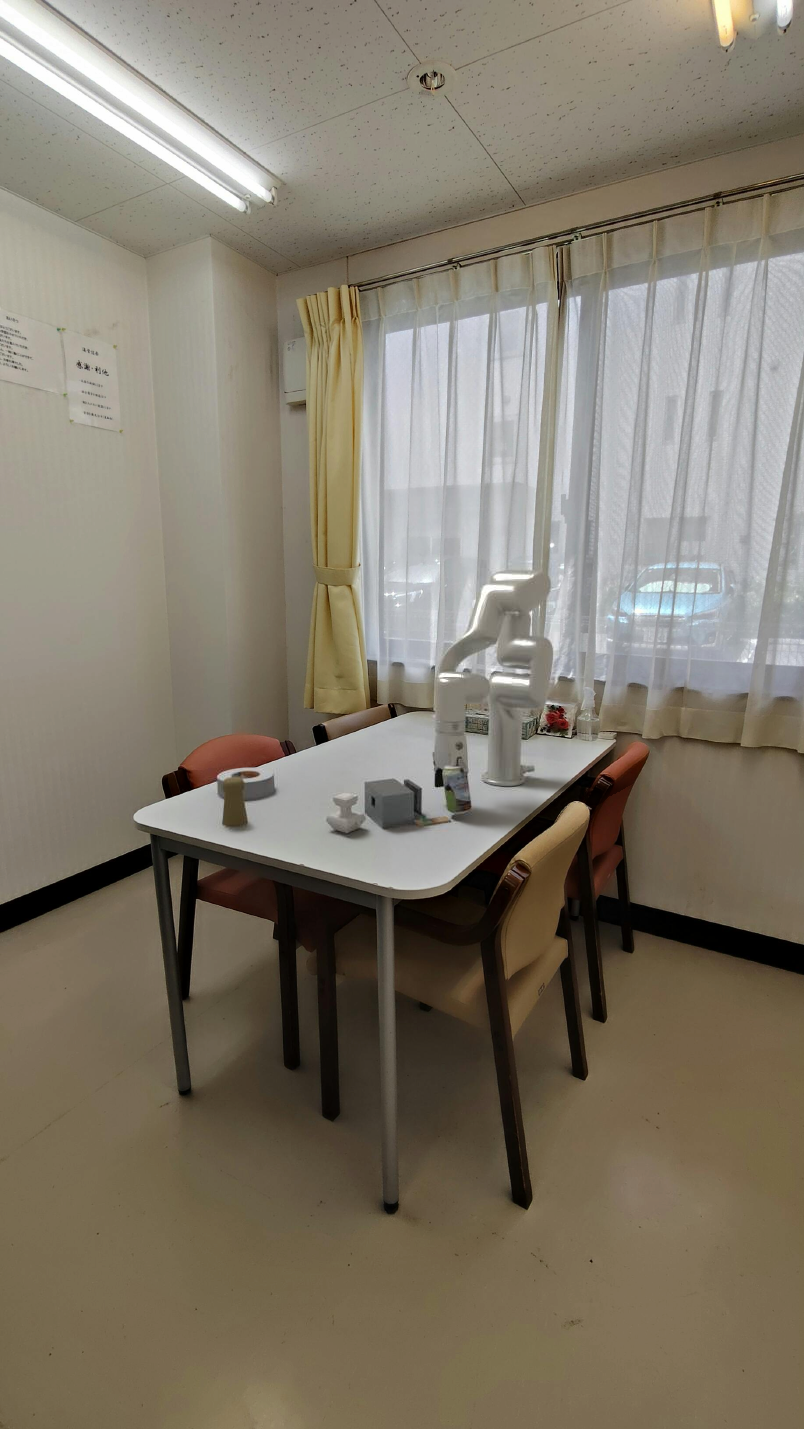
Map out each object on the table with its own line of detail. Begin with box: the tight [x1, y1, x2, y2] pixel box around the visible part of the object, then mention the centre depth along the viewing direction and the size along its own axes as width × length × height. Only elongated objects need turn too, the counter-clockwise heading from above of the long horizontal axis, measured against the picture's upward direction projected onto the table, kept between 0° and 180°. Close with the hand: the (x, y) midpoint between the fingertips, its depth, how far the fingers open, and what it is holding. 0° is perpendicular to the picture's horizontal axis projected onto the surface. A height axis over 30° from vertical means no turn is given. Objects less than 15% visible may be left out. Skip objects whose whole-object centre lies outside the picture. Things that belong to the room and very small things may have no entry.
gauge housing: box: [364, 778, 415, 830], centre depth 160 cm, size 8×12×8 cm, turn 24°
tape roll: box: [216, 767, 275, 801], centre depth 181 cm, size 15×15×5 cm
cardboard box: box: [414, 815, 452, 827], centre depth 158 cm, size 8×3×1 cm, turn 114°
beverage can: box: [442, 765, 473, 815], centre depth 161 cm, size 6×7×12 cm
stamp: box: [325, 792, 367, 834], centre depth 153 cm, size 9×7×8 cm
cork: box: [222, 777, 249, 828], centre depth 157 cm, size 6×6×11 cm
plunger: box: [403, 778, 427, 819], centre depth 159 cm, size 9×11×6 cm
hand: (449, 792), depth 167 cm, fingers open, 9 cm apart
